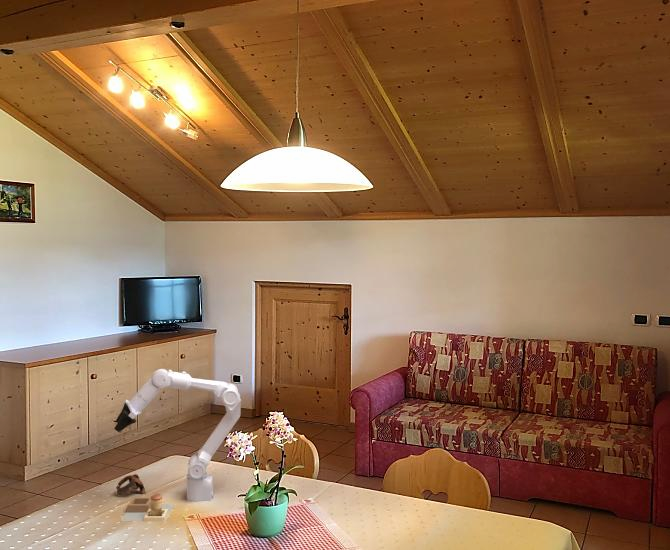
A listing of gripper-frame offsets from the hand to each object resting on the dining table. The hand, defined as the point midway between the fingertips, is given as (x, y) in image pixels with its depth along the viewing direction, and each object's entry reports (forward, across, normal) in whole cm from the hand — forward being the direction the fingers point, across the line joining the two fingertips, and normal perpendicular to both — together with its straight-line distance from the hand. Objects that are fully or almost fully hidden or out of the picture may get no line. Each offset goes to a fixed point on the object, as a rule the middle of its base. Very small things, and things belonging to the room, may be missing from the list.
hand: (117, 426), depth 237 cm
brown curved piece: (+19, -7, +23) cm, 30 cm away
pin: (+11, +17, +27) cm, 34 cm away
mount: (+14, +13, +26) cm, 32 cm away
